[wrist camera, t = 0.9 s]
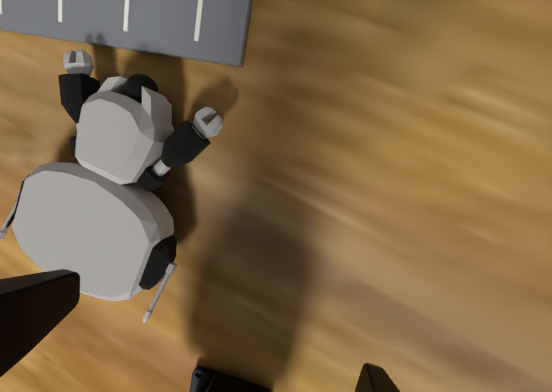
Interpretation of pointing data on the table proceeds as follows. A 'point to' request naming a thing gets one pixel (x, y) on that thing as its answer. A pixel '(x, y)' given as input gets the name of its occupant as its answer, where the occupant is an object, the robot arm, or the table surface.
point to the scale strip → (139, 25)
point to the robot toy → (109, 185)
